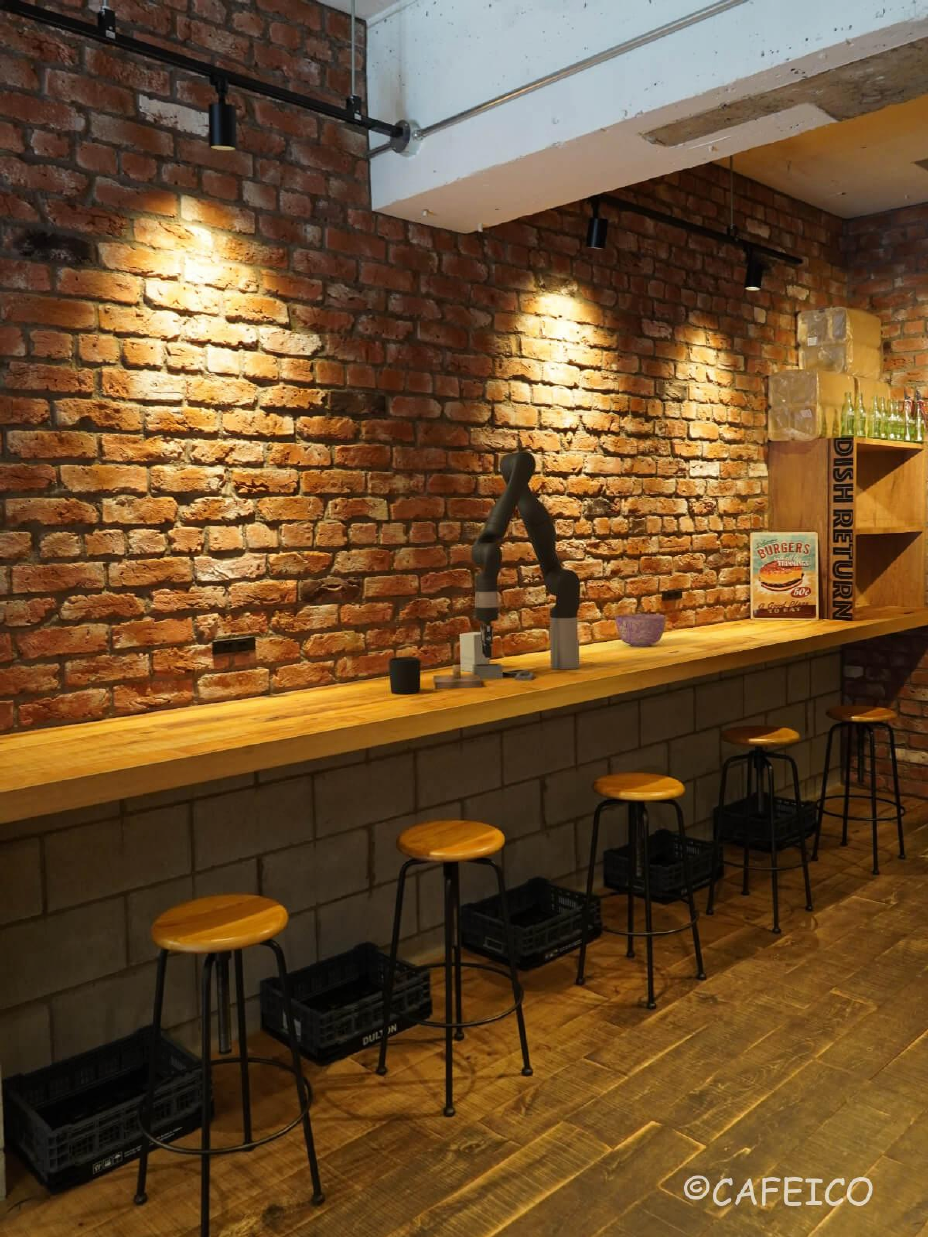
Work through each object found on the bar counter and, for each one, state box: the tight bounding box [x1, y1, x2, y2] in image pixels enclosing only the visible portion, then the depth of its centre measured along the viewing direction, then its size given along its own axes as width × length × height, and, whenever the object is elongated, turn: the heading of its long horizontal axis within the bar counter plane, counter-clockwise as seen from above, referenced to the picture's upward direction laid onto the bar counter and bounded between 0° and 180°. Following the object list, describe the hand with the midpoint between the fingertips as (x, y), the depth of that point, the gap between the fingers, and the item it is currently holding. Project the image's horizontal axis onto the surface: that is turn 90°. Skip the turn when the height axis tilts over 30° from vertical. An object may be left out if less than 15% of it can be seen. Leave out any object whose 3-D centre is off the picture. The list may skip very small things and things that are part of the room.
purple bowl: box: [614, 613, 667, 648], centre depth 408 cm, size 20×20×12 cm
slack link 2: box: [514, 672, 535, 681], centre depth 331 cm, size 8×5×1 cm, turn 169°
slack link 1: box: [503, 668, 531, 678], centre depth 339 cm, size 8×5×1 cm, turn 129°
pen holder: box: [388, 656, 421, 695], centre depth 310 cm, size 9×9×10 cm
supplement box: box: [459, 631, 491, 673], centre depth 352 cm, size 7×7×13 cm
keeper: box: [432, 664, 483, 690], centre depth 322 cm, size 14×14×6 cm
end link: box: [472, 662, 504, 680], centre depth 335 cm, size 9×6×4 cm, turn 96°
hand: (486, 656), depth 335 cm, fingers open, 8 cm apart
